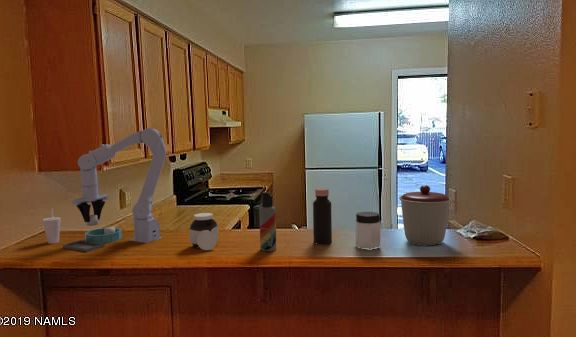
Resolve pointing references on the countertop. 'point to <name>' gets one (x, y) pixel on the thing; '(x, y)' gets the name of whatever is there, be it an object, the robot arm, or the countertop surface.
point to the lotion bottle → (267, 224)
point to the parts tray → (83, 245)
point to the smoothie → (52, 228)
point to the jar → (367, 230)
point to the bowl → (103, 236)
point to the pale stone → (109, 230)
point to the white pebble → (93, 220)
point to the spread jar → (204, 231)
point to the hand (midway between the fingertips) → (92, 220)
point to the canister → (425, 216)
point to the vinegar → (322, 217)
